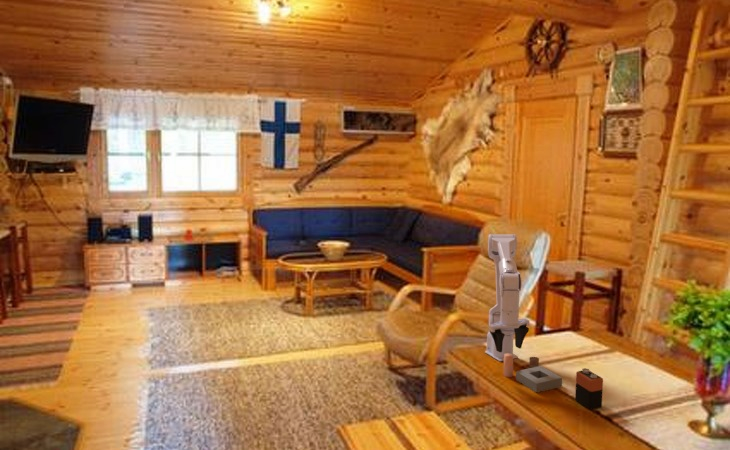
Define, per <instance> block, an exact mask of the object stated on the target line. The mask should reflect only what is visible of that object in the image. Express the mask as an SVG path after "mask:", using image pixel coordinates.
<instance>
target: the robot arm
mask: <svg viewBox="0 0 730 450" xmlns="http://www.w3.org/2000/svg"><path fill="white" fill-rule="evenodd" d="M517 239H518V237H517V235H516V233H513V234H506V233H504V234H499V233H497V234H493V233H489V234H488V236H487V251H488V252H487V253H488V257H489V259H491V260H493V262H494V268H495V296H496V297H495V298H496V300H495V301H496V304H495V305H494V306H493V307H491V308H490V309H489V310H488V311H489V312H488V332H487V334H486V350H485V351H484V353H485V354H486V355H488V356H489V357H492V358H493V359H494V360H497V361H498V362H504V354H506V353H509V354H513V360H514V359H518V358H519V356H518V355H517V354H515V353H514V343H515V347H516V348H517V349H522V345H523V343H524V340H525V338H526V336H527V334H528V332H529V331H530V328H529V326H530V319H527V318H519V312H520V310H519V309H520V291H521V289H522V283H523V282H522V276H521V273H520V272H519V271H518V268H517V262H516V261H515V256H516V251H517V247H518V240H517Z"/></svg>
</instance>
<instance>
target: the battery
mask: <svg viewBox="0 0 730 450" xmlns="http://www.w3.org/2000/svg"><path fill="white" fill-rule="evenodd" d="M575 375H576V376H575V379H576V380H575V392H574V393H575V394H574V395H575V398H574V400H575V401H577V402H578V403H579V404H580V405H582V406H584V407H585V408H587V409H588V410H590V411H591V410H594V409H600V408H602V406H603V405H602V404H603V389H604V388H603V386H604V378H603V377H602V376H600V375H598V374H596V373H594V372H592V371H591V370H590V368H583V367H582V370H578V371H576V374H575Z"/></svg>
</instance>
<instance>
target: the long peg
mask: <svg viewBox="0 0 730 450" xmlns="http://www.w3.org/2000/svg"><path fill="white" fill-rule="evenodd" d="M513 354H514V353H513ZM513 354H509V353H506V354H504V361H503V376H504V377H506V378H512V377H514V359H513Z"/></svg>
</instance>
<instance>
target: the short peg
mask: <svg viewBox="0 0 730 450" xmlns="http://www.w3.org/2000/svg"><path fill="white" fill-rule="evenodd" d="M539 362H540V358H539V357H537V356H530V357H529V368H533V367H538V366H540V363H539ZM529 368H528V369H529Z"/></svg>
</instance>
